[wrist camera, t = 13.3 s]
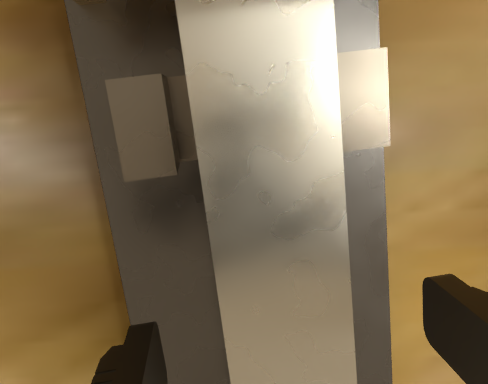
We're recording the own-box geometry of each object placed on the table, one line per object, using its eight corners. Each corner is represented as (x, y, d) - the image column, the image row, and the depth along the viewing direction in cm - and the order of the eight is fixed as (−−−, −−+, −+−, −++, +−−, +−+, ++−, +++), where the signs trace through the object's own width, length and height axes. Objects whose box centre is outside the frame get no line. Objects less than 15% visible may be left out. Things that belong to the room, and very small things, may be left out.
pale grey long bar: (281, -187, 13) (318, -311, 9) (340, 543, 20) (375, 654, 16) (149, -178, 13) (127, -303, 9) (257, 562, 20) (272, 679, 16)
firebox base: (355, -165, 16) (650, -648, 6) (384, 479, 24) (535, 785, 13) (45, -143, 15) (-291, -675, 5) (177, 522, 23) (162, 888, 12)
